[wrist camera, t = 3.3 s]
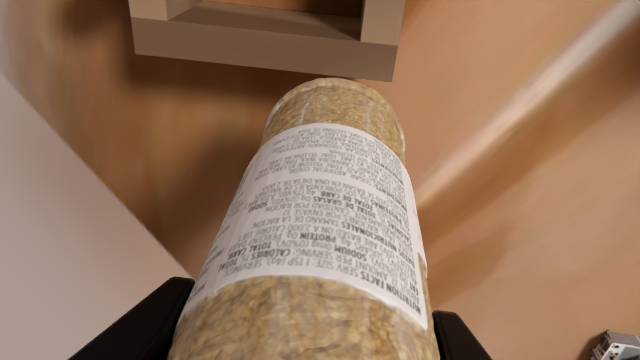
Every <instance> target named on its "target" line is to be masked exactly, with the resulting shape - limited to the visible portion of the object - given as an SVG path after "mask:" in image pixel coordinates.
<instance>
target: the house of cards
mask: <svg viewBox="0 0 640 360" xmlns="http://www.w3.org/2000/svg"><path fill="white" fill-rule="evenodd" d="M592 350H593V352H592V351H590V352H591V354H592V357H591V358H590V360H640V337H637V336H633V335H627V334H620V333H613V332H610V331H609V329H608V331H607V332H606V334H605V335H604V337H603V338H602V340H601V341H600V343H599V344H598V346H597V347H596V349H592Z"/></svg>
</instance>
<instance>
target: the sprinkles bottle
mask: <svg viewBox="0 0 640 360" xmlns="http://www.w3.org/2000/svg"><path fill="white" fill-rule="evenodd" d="M404 155H405V136H404V133H403V129H402V125H401V122H400V120H399V119H398V117H397V115H396V113H395V111H394V110H393V108H392V107H391V106H390V105H389V104H388V102H387V101H386V100H385V99H384V98H383V97H382V96H381V95H380V94H379V93H378V92H377V91H375V90H374V89H372V88H370V87H367V86H364V85H362V84H360V83H358V82H355V81H351V80H347V79H342V78H317V79H315V80H312V81H309V82H306V83H303V84H301V85H299V86H297V87H295V88H294V89H292V90H290V91H289V92H287V93H286V94H285V95H284V96H283V97H282V98H281V99H280V100H278V102H277V103H276V104H275V105H274V107H273V108H272V110H271V111H270V114H269V116H268V119H267V121H266V122H265V126H264V130H263V134H262V143H261V146H260V148H259V150H258V151H257V153H256V154H255V155H254V157H253V158H252V160H251V161H250V163H249V165H248V167H247V169H246V171H245V173H244V175H243V178H242V180H241V182H240V184H239V187H238V189H237V191H236V193H235V196H234V198H233V200H232V202H231V205H230V207H229V209H228V211H227V213H226V216H225V218H224V220H223V222H222V224H221V227H220V229H219V231H218V233H217V236H216V238H215V240H214V242H213V245H212V247H211V249H210V251H209V254H208V256H207V258H206V260H205V263H204V265H203V267H202V269H201V271H200V274H199V276H198V278H197V280H196V283H195V285H194V287H193V289H192V291H191V293H190V296H189V298H188V300H187V302H186V304H185V306H184V309H183V311H182V313H181V316H180V318H179V320H178V323H177V325H176V329H175V332H174V335H173V338H172V348H171V349H170V351H169V354H168V358H167V360H440V356H439V350H438V345H437V341H436V337H435V333H434V326H433V317H432V310H431V306H430V299H429V293H428V283H427V264H426V259H425V254H424V248H423V243H422V238H421V232H420V227H419V221H418V216H417V211H416V205H415V199H414V194H413V188H412V184H411V180H410V178H409V175H408V173H407V171H406V165H405V159H404Z"/></svg>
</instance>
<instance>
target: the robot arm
mask: <svg viewBox="0 0 640 360" xmlns="http://www.w3.org/2000/svg"><path fill="white" fill-rule="evenodd" d="M194 285H195V280H193V279H191V278H182V277H172V278H170V279H169V280H167V281H166V282H165V283H164V284H162V285H161V286H160V287H158V288H157V289H156V290H155V291H153V292H152V293H151V294H150V295H148V296H147V297H146V298H145V299H143V300H142V301H141V302H140V303H138V304H137V305H136V306H135V307H134V308H132V309H131V310H129V311H128V312H127V313H126V314H124V315H123V316H122V317H121V318H119V319H118V320H117V321H116V322H115V323H113V324H112V325H111V326H109V327H108V328H107V329H106V330H105V331H103V332H102V333H101V334H99V335H98V336H97V337H95V338H94V339H93V340H92V341H90V342H89V343H88V344H87V345H85V346H84V347H83V348H82V349H80V350H79V351H78V352H77V353H75V354H74V355H73V356H72V357H70V358H69V359H68V360H167V358H168V354H169V351H170V349H171V348H172V338H173V335H174V332H175V329H176V325H177V323H178V320H179V318H180V316H181V313H182V311H183V309H184V306H185V304H186V302H187V300H188V298H189V296H190V293H191V291H192V289H193V287H194ZM432 317H433V326H434V333H435V337H436V341H437V345H438V350H439V356H440V360H492V359H491V357H490V356H489V355H488V353H487V352H486V351H485V349H484V348H483V347H482V345H481V344H480V343H479V342H478V340H477V339H476V338H475V336H474V335H473V334H472V332H471V331H470V330H469V329H468V327H467V326H466V325H465V323H464V322H463V321H462V319H461V318H460V317H459V316H458V315H457V314H456V313H454V312H447V311H439V310H436V311H433V313H432Z"/></svg>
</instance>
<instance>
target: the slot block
mask: <svg viewBox="0 0 640 360" xmlns="http://www.w3.org/2000/svg"><path fill="white" fill-rule="evenodd" d="M127 1H129V8H130V16H131V24H132V32H133V40H134V48H135V54H140V55H150V56H159V57H168V58H177V59H186V60H195V61H204V62H213V63H222V64H231V65H240V66H249V67H258V68H268V69H277V70H286V71H295V72H304V73H313V74H322V75H331V76H340V77H349V78H358V79H367V80H376V81H385V82H392V77H393V71H394V66H395V60H396V54H397V48H398V43H399V37H400V31H401V26H402V20H403V14H404V8H405V3H406V0H363V3H362V10H361V18H358V17H349V16H339V15H330V14H321V13H311V12H302V11H292V10H283V9H274V8H264V7H255V6H246V5H236V4H227V3H218V2H208V1H203V0H127Z"/></svg>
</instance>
